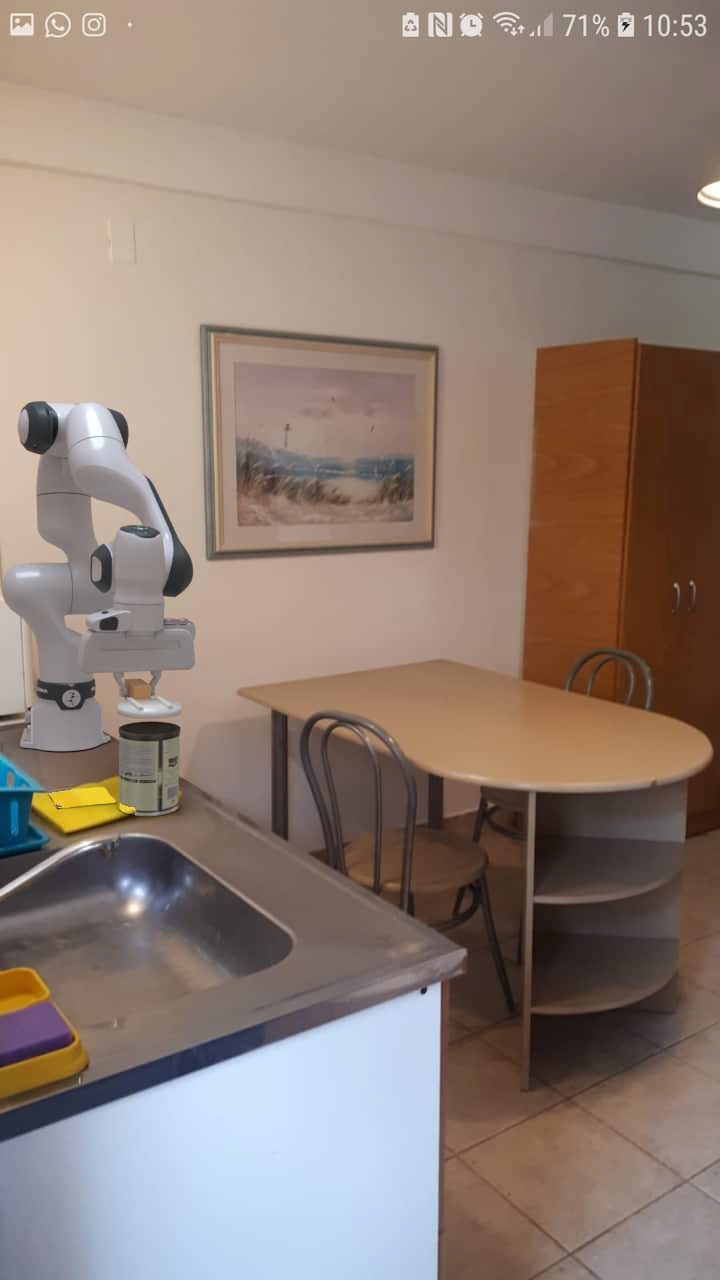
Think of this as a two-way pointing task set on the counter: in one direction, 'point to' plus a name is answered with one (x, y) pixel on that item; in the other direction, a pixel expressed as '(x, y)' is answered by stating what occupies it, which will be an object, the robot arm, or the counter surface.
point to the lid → (146, 703)
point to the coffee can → (149, 767)
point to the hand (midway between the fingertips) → (137, 695)
